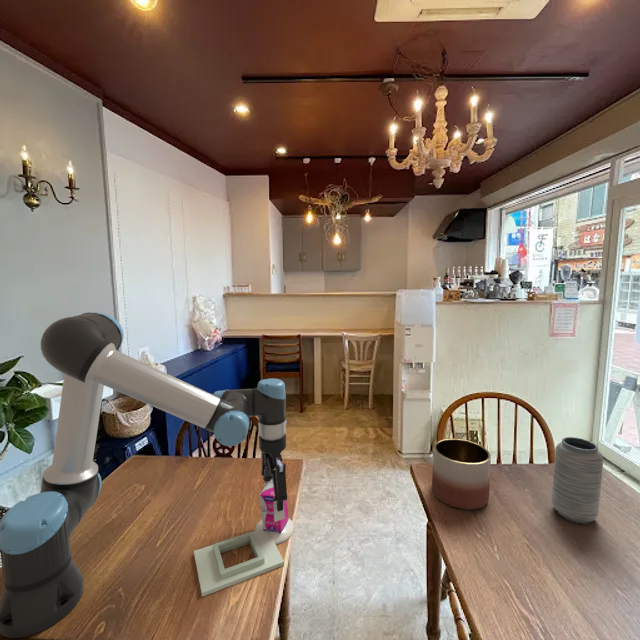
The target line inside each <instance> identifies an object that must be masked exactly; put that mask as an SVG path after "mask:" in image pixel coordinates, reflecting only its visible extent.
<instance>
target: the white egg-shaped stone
mask: <svg viewBox="0 0 640 640" xmlns="http://www.w3.org/2000/svg"><path fill="white" fill-rule="evenodd" d="M262 528H263V523H262V519H260V520H259V521H258V522H257V524H256V525H255V527H254V531H256V530H259V529H262ZM293 528H294V530H295V527H294V522H293V520H291V518H289V517H288V522H287V524H286V525H285V527H284V529H283V531H282V533H277V532H271V531H269V532H270V534H271V536H272V538H273V540H274V542H275V544H276V545H278V544H282V543H285V542H286V541H287V540H289V539H290V538H291V537H292V535H293V534H292V533H294V532H295V531H294V530H293Z"/></svg>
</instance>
